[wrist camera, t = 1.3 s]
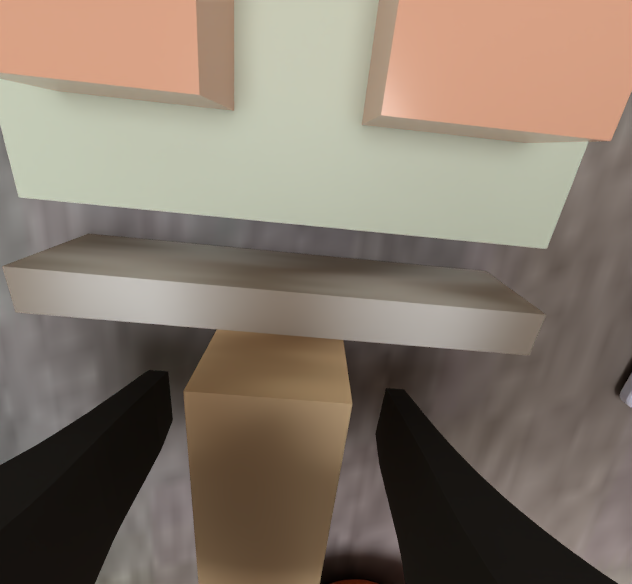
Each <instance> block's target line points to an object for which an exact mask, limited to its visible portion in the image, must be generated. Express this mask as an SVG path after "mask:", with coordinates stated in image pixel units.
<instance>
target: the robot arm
mask: <svg viewBox="0 0 632 584" xmlns="http://www.w3.org/2000/svg"><path fill="white" fill-rule="evenodd" d="M620 399H621V400H622V401H623V402H624V403H625V404H627V405H628V406H629V407H632V373H631V375H630V376H629V378H628V380H627V382H626V383H625V385H624V387H623V388H622V390H621V392H620ZM172 420H173V417H172V406H171V396H170V386H169V376H168V372H167V371H154V370H149V371H147V372H146V373H144V374H143V375H141V376H140V377H138V378H137V379H135V380H134V381H133V382H131V383H130V384H128V385H127V386H126V387H124V388H123V389H121V390H120V391H119V392H117V393H116V394H114V395H113V396H111V397H110V398H109V399H107V400H106V401H104V402H103V403H101V404H100V405H98V406H97V407H96V408H94V409H93V410H91V411H90V412H88V413H87V414H85V415H84V416H82V417H81V418H79V419H77V420H76V421H74V422H73V423H71V424H70V425H68V426H66V427H65V428H63V429H62V430H60V431H59V432H57V433H56V434H54V435H52V436H51V437H49V438H47V439H46V440H44V441H42V442H41V443H39V444H37V445H36V446H34V447H32V448H31V449H29V450H27V451H25V452H23V453H22V454H20V455H18V456H16V457H14V458H13V459H11V460H9V461H7V462H5V463H3V464H2V465H0V584H95V582H96V579H97V577H98V575H99V572H100V570H101V568H102V565H103V563H104V561H105V559H106V556H107V554H108V552H109V549H110V547H111V545H112V542H113V540H114V538H115V536H116V534H117V532H118V530H119V528H120V526H121V524H122V522H123V520H124V518H125V516H126V515H127V513H128V511H129V509H130V507H131V505H132V503H133V502H134V500H135V498H136V496H137V494H138V492H139V490H140V488H141V487H142V485H143V483H144V481H145V479H146V477H147V475H148V474H149V472H150V470H151V468H152V466H153V464H154V462H155V460H156V458H157V457H158V455H159V453H160V451H161V449H162V446H163V444H164V441H165V439H166V436H167V434H168V431H169V428H170V426H171V423H172ZM376 441H377V450H378V457H379V465H380V469H381V473H382V477H383V482H384V486H385V490H386V494H387V498H388V502H389V506H390V510H391V514H392V518H393V522H394V526H395V530H396V534H397V538H398V543H399V548H400V553H401V558H402V564H403V571H404V577H405V583H406V584H618V583H616V582H615V581H613V580H612V579H610V578H609V577H607V576H606V575H604V574H603V573H601V572H600V571H598V570H597V569H595V568H594V567H593V566H591V565H590V564H589V563H587V562H586V561H584V560H583V559H582V558H580V557H579V556H578V555H576V554H575V553H573V552H572V551H571V550H569V549H568V548H566V547H565V546H564V545H562V544H561V543H560V542H559V541H557V540H556V539H555V538H553V537H552V536H551V535H549V534H548V533H547V532H545V531H544V530H543V529H542V528H540V527H539V526H538V525H537V524H536V523H534V522H533V521H532V520H531V519H529V518H528V517H527V516H526V515H524V514H523V513H522V512H521V511H520V510H518V509H517V508H516V507H515V506H514V505H513V504H511V503H510V502H509V501H508V500H507V499H506V498H504V497H503V496H502V495H501V494H500V493H499V492H498V491H497V490H496V489H495V488H493V487H492V486H491V485H490V484H489V483H488V482H487V481H486V480H485V479H484V478H483V477H482V476H481V475H480V474H478V473H477V472H476V471H475V470H474V469H473V468H472V467H471V466H470V465H469V464H468V462H467V461H466V460H465V459H464V458H463V457H462V456H461V455H460V454H459V453H458V452H457V451H456V450H455V449H454V448H453V447H452V446H451V445H450V444H449V442H448V441H447V440H446V439H445V438H444V437H443V436H442V435H441V433H440V432H439V431H438V430H437V429H436V428H435V426H434V425H433V424H432V423H431V422H430V421H429V419H428V418H427V417H426V416H425V415H424V413H423V412H422V411H421V410H420V408H419V407H418V406H417V405H416V404H415V402H414V401H413V400H412V399H411V397H410V396H409V395H408V394H407V393H406V391H405V390H403V389H390V388H386V390H385V395H384V399H383V404H382V408H381V412H380V417H379V421H378V425H377V430H376Z"/></svg>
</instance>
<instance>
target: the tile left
mask: <svg viewBox="0 0 632 584" xmlns="http://www.w3.org/2000/svg"><path fill="white" fill-rule="evenodd" d="M0 79H4V80H8V81H13V82H18V83H22V84H27V85H31V86H36V87H40V88H45V89H49V90H54V91H59V92H68V93H77V94H86V95H95V96H104V97H113V98H122V99H131V100H140V101H149V102H158V103H167V104H176V105H185V106H194V107H203V108H212V109H222V110H231V111H234V0H0Z"/></svg>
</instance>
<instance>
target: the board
mask: <svg viewBox="0 0 632 584" xmlns="http://www.w3.org/2000/svg"><path fill="white" fill-rule="evenodd" d="M378 3H379V0H234V111H231V110H222V109H212V108H203V107H194V106H185V105H176V104H167V103H158V102H149V101H140V100H131V99H122V98H113V97H104V96H95V95H86V94H77V93H68V92H59V91H54V90H49V89H45V88H40V87H36V86H31V85H27V84H22V83H18V82H13V81H8V80H4V79H0V126H1V129H2V133H3V137H4V141H5V145H6V149H7V153H8V157H9V161H10V165H11V169H12V173H13V176H14V180H15V184H16V188H17V192H18V196H19V197H21V198H31V199H41V200H52V201H62V202H72V203H82V204H92V205H103V206H113V207H123V208H133V209H144V210H154V211H164V212H174V213H185V214H195V215H205V216H215V217H225V218H236V219H246V220H256V221H266V222H277V223H287V224H297V225H307V226H318V227H328V228H338V229H348V230H359V231H369V232H379V233H389V234H399V235H410V236H420V237H430V238H440V239H451V240H461V241H471V242H481V243H492V244H502V245H512V246H522V247H532V248H543V249H547V247H548V244H549V242H550V239H551V237H552V234H553V232H554V229H555V226H556V224H557V221H558V219H559V216H560V214H561V211H562V209H563V206H564V203H565V201H566V198H567V196H568V193H569V191H570V188H571V186H572V183H573V180H574V178H575V175H576V173H577V170H578V168H579V165H580V163H581V160H582V157H583V155H584V152H585V150H586V147H587V145H588V142H554V143H520V142H511V141H502V140H493V139H483V138H474V137H465V136H456V135H447V134H438V133H429V132H420V131H411V130H402V129H393V128H384V127H375V126H366V125H362V119H363V112H364V105H365V97H366V90H367V83H368V76H369V68H370V61H371V54H372V46H373V39H374V32H375V25H376V17H377V10H378Z"/></svg>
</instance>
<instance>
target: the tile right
mask: <svg viewBox="0 0 632 584" xmlns="http://www.w3.org/2000/svg"><path fill="white" fill-rule="evenodd" d="M631 91H632V0H379V3H378V10H377V17H376V25H375V32H374V39H373V46H372V54H371V61H370V68H369V76H368V83H367V90H366V97H365V105H364V112H363V119H362V125H366V126H375V127H384V128H393V129H402V130H411V131H420V132H429V133H438V134H447V135H456V136H465V137H474V138H483V139H493V140H502V141H511V142H520V143H554V142H596V141H611V139H612V137H613V135H614V132H615V130H616V127H617V125H618V123H619V120H620V118H621V115H622V113H623V111H624V108H625V106H626V103H627V101H628V99H629V96H630V94H631Z"/></svg>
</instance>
